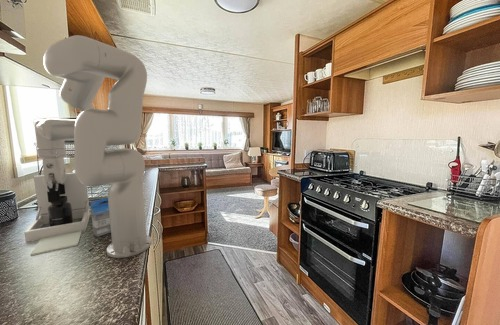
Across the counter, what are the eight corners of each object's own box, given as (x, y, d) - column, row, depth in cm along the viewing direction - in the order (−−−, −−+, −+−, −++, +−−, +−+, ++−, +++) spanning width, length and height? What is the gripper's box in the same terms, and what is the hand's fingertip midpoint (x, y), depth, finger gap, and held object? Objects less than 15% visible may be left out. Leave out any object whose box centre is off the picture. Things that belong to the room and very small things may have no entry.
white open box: (85, 230, 80) (79, 179, 77) (25, 242, 71) (16, 185, 69) (90, 214, 95) (85, 171, 92) (41, 222, 87) (34, 175, 84)
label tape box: (97, 237, 75) (93, 203, 73) (93, 234, 77) (89, 201, 75) (124, 228, 82) (121, 197, 80) (119, 225, 84) (116, 195, 82)
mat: (77, 245, 69) (77, 243, 69) (30, 255, 63) (30, 254, 63) (81, 232, 79) (81, 230, 78) (41, 240, 73) (41, 238, 73)
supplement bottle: (54, 232, 78) (49, 201, 76) (47, 228, 82) (43, 198, 80) (76, 225, 84) (73, 196, 82) (69, 222, 87) (66, 193, 86)
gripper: (60, 155, 74) (66, 203, 76) (69, 150, 88) (73, 190, 91) (30, 156, 70) (37, 206, 72) (44, 151, 84) (49, 193, 87)
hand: (57, 197), depth 81 cm, fingers open, 9 cm apart
